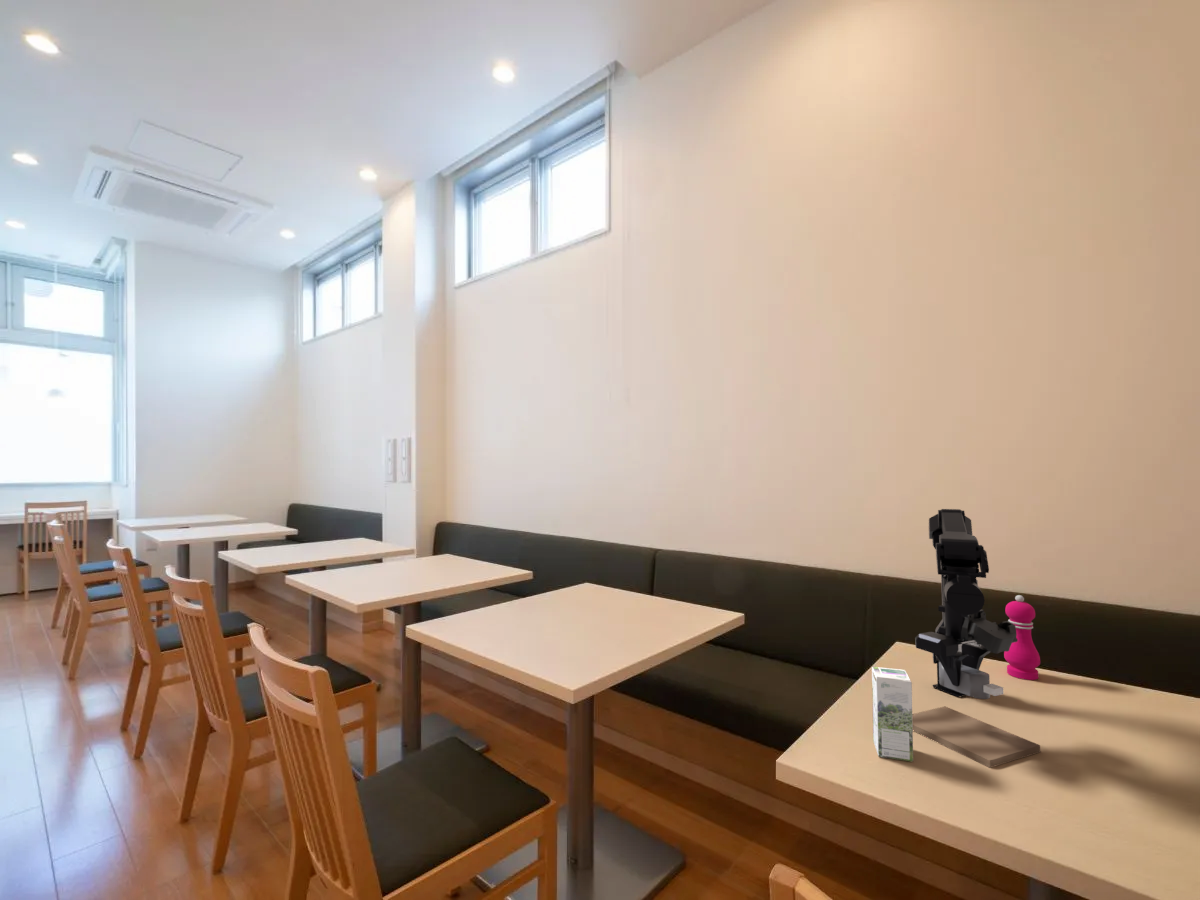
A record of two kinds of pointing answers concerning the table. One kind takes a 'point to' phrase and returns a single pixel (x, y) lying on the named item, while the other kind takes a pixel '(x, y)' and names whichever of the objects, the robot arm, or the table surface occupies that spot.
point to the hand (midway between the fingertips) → (963, 684)
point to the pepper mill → (1022, 641)
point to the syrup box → (892, 713)
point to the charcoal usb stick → (971, 683)
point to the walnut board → (972, 736)
